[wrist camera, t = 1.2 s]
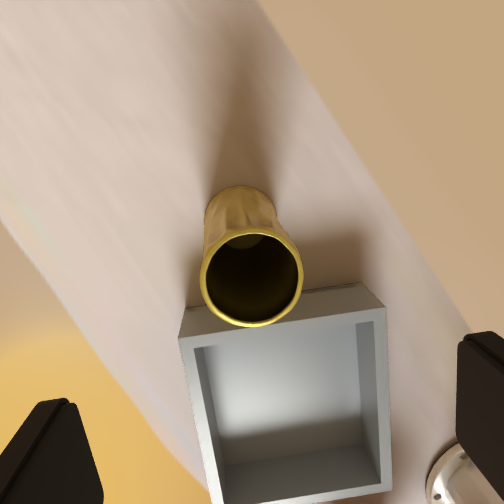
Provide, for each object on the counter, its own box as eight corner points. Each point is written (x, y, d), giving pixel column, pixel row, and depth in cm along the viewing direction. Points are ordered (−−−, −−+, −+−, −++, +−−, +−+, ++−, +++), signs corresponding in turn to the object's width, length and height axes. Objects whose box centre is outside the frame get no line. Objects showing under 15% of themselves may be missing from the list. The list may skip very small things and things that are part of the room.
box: (361, 282, 35) (385, 307, 29) (370, 444, 40) (392, 490, 34) (185, 308, 34) (177, 338, 29) (216, 468, 39) (215, 519, 34)
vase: (270, 179, 32) (304, 207, 18) (282, 249, 33) (321, 323, 20) (197, 193, 32) (175, 232, 18) (213, 263, 33) (204, 347, 20)
